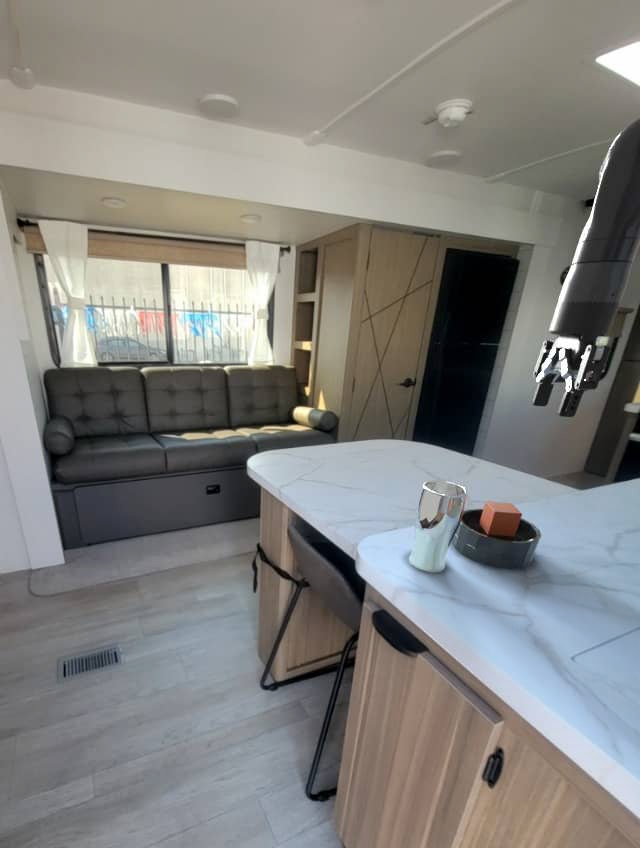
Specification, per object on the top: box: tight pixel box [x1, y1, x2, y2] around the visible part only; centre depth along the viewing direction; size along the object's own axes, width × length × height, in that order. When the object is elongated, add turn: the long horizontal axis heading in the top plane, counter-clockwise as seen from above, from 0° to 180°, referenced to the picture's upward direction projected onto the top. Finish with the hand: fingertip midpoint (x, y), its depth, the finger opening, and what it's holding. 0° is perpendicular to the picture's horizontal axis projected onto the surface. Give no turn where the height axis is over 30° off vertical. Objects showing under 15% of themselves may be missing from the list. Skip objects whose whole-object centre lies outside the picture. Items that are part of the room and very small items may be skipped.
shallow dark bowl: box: [451, 508, 542, 570], centre depth 75 cm, size 13×13×6 cm
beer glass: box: [408, 480, 468, 573], centre depth 68 cm, size 7×7×15 cm
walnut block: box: [477, 523, 515, 541], centre depth 75 cm, size 4×4×4 cm
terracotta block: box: [479, 501, 523, 536], centre depth 73 cm, size 4×4×4 cm
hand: (551, 410), depth 67 cm, fingers open, 8 cm apart
